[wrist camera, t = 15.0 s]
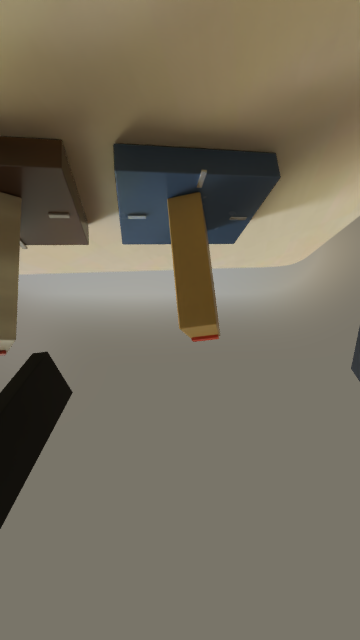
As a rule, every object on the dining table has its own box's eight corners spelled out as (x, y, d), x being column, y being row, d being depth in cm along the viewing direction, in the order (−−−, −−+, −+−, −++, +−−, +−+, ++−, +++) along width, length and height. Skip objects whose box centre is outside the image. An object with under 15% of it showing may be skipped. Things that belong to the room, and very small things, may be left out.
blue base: (121, 227, 25) (122, 248, 25) (112, 137, 16) (114, 167, 15) (230, 228, 27) (233, 247, 27) (278, 148, 18) (284, 175, 17)
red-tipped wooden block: (166, 198, 19) (179, 332, 17) (200, 190, 18) (217, 328, 16) (180, 236, 24) (191, 342, 22) (207, 231, 24) (220, 339, 21)
